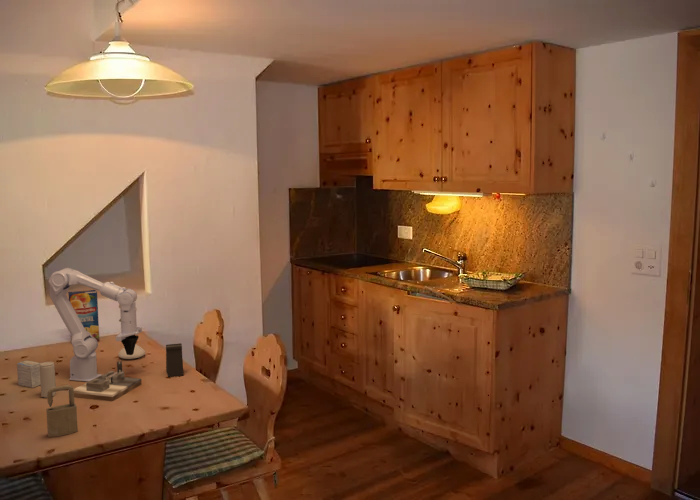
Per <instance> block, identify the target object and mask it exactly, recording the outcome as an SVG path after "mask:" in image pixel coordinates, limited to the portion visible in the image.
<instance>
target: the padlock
mask: <svg viewBox="0 0 700 500" xmlns="http://www.w3.org/2000/svg"><path fill="white" fill-rule="evenodd" d="M74 389H75V388H74V386H73V385H71V384H64V385H59V386H56V387H53V388H50V389H49V390H48V393H47V404H48V405H49V407H48V408H46V426H47V427H46V428H47V436H48V438H51V437H53V438H55V437H61V436H65V435H66V436H67V435H71V434H73V433H77V432H78V430H79V429H78V427H79V425H78V413H77V411H78V410H77V404H76V403H75V397H74ZM61 391H68V400H69V401H68V402H69V403H66V404H61V405H55V406H52V405H53V403H54V402H53V401H54V400H53V399H54V398H53V397H54V396H53V395H52V393H53V392H56V393H57V392H61Z"/></svg>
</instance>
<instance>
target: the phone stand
mask: <svg viewBox="0 0 700 500" xmlns="http://www.w3.org/2000/svg"><path fill="white" fill-rule="evenodd" d="M165 371H166V375H167V378H173V377H174V376H175V377H182V376H183V377H184V361H183V345H182V343H169V344H166V345H165Z"/></svg>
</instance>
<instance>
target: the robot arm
mask: <svg viewBox="0 0 700 500" xmlns="http://www.w3.org/2000/svg"><path fill="white" fill-rule="evenodd" d="M48 284H49V298H50V301H52V303H53V305H54V307H55V309H56V310H57V313H58V315H59V316H60V318H61V320H62V322H63V323H64V325H65V327H66V329H67V331H68V333H69V334H70V337H71V336H72V342H71V341H70V342H71V345H72V348H73V349H72V350H73V351H72V352H73V354H74V355H73V356H71V358H70V360H69V377H70V378H69V377H68V381H75V382H76V381H77V382H85V383H87V382H89V381H91V380H93V379H95V378H97V377H99V376H101V375H103V374H101V373H98V366H97V365H98V363H97V361H98V360H97V353H96V350H97V349H98V347H99V343H98V342H97V340H96V339H95V338H94V337H92V335H91V334H90V333H89V332H88V331H86V330H85V328H84V327H83V325H82V323H81V321H80V319H79V318H78V316H77V314H76V312H75V310H74V308H73V307H72V305H71V303H70V301H69V296H67V294H68V292H69V289H70V287H71V286H74V285H82V286H84V287H86V288H87V287H88V288H90V289H91V290H96V291H98V292H99V293H100V296H103V297H105V298H107V299H110V300H111V301H114V302H117V303H118V305H119V304H120V308H119V309H120V310H119V311H120V312H119V313H120V319H121V322H120V332H119V333H118V334H117V335H115V341H116V342H121V344H122V345H123V348H125V350H126V354H127V355H133V353H134V348H135V345H136V344H137V342H138V339H139V337H140V336H139V334H140V333H142V332H143V328H142V327H141V326H139V327H138V326H137V310H136V309H137V307H136V301H137V299H138V294H137V292H136V291H135V290H134V289H133V288H127V287H126V286H123V287H122V286H119V285H117V284H115V282H114V281H110V282H109V281H105V282H102V281H99V280H97V279H95V278H93V277H91V276H89V275H87V274H84V273H82V272H81V271H79V270H77V269H74V268H70V267H64V268H62V269H61V270H58V271H57V270H56V271H54V272H53V273H52V274H51V275H50V277H49V279H48ZM132 303H133V304H132Z"/></svg>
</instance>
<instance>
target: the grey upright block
mask: <svg viewBox="0 0 700 500" xmlns="http://www.w3.org/2000/svg"><path fill="white" fill-rule="evenodd" d="M41 363H42V362H38V361H33V360H24V361H20V362H18V363H16V372H17V383H18V386H22V387H26V388H31V389H32V388H36V387H39V386H41V382H40V364H41Z"/></svg>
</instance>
